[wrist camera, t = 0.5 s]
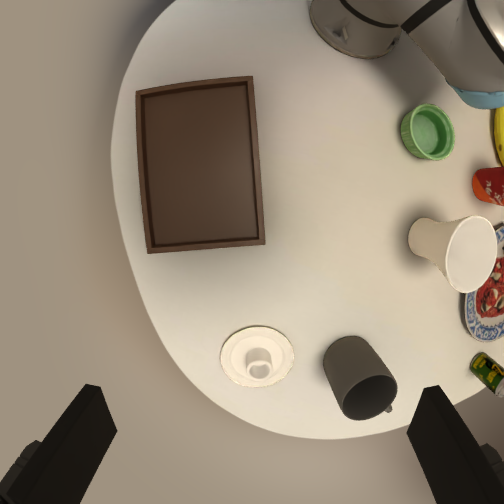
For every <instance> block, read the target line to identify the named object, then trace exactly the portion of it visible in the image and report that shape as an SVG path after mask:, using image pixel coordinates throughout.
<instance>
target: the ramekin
mask: <svg viewBox="0 0 504 504" xmlns="http://www.w3.org/2000/svg"><path fill="white" fill-rule="evenodd" d="M401 136H402V140H403V142H404V144H405V146H406V148H407V149H408V150H409V151H410V152H411V153H412V154H413V155H415V156H417V157H419V158H425V159H431V160H442V159H445V158H446V157H448V156H449V155H450V153H451V152H452V150H453V147H454V142H455V133H454V128H453V125H452V123H451V121H450V119H449V117H448V116H447V115H446V113H445V112H444V111H443V110H442V109H440V108H439V107H437V106H436V105H433V104H421V105H419V106H418V107H416V108H415V109H414V110H412V111H411V112H409V113H408V114H407V115H406V116H405V117H404V118H403V120H402V123H401Z"/></svg>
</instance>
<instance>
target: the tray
mask: <svg viewBox="0 0 504 504" xmlns="http://www.w3.org/2000/svg"><path fill="white" fill-rule="evenodd" d="M136 136H137V155H138V171H139V183H140V195H141V205H142V214H143V223H144V232H145V240H146V247H147V254H153V253H165V252H177V251H190V250H202V249H215V248H227V247H240V246H253V245H265V230H264V215H263V201H262V187H261V173H260V159H259V146H258V133H257V121H256V108H255V96H254V84H253V76H242V77H229V78H218V79H208V80H200V81H192V82H185V83H178V84H171V85H165V86H160V87H154V88H149V89H144V90H139V91H136Z"/></svg>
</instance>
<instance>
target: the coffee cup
mask: <svg viewBox="0 0 504 504" xmlns="http://www.w3.org/2000/svg"><path fill="white" fill-rule="evenodd" d="M472 186H473V191H474V194H475V196H476V197H477V198H478V199H479V200H482V201H485V202H489V203H493V204H497V205H501V206H504V167H495V168H485V169H479V170H477V171H476V172H475V174H474V176H473V181H472Z"/></svg>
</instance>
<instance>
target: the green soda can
mask: <svg viewBox="0 0 504 504" xmlns="http://www.w3.org/2000/svg"><path fill="white" fill-rule="evenodd" d="M470 369H471V372H472V373H473V374H474V375H475V376H476V377H477V378H478V379H479V380H480V381H482V382H483V383H484V384H485V385H486V386H487V387H488V388H489V389H490V390H491V391H492V392H493V393H494V394H495V395H496V396H499V397H503V396H504V368H503V367H502V366H500V365H499V364H498V363H497V362H495V361H494V360H493V359H492V358H491V357H489V356H488V355H487V354H486V353H479V354H477V355H476V356H475V357H474V358H473V360H472V362H471V364H470Z"/></svg>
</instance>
